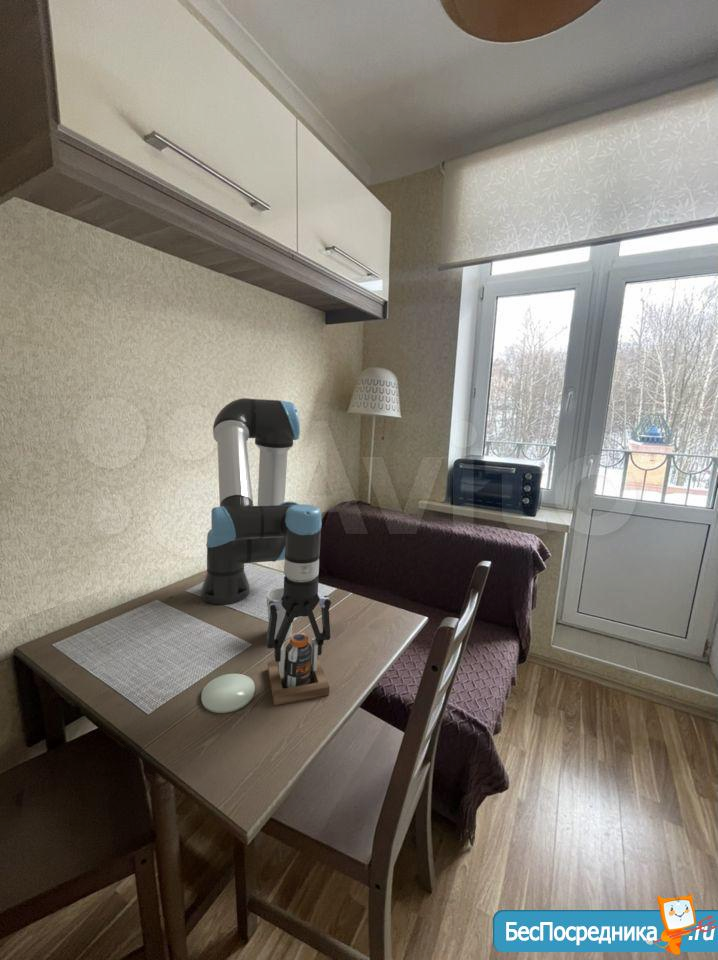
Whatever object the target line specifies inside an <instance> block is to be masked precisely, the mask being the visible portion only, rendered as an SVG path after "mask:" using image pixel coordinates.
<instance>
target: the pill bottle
mask: <svg viewBox="0 0 718 960" xmlns="http://www.w3.org/2000/svg"><path fill="white" fill-rule="evenodd" d="M311 654H312V644H311V643H309V636H308V635H307V634H306V633H303V632H295V633H292V636H291V637H290V638H289V643H288V644H287V645H286V647H285V653H284V659H285V672H284V676H283V677H284V678H283V683H284V685H285V686H286V688H290V687H296V686H301V685H307V684H310V682H311V672H312V671H311Z"/></svg>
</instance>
